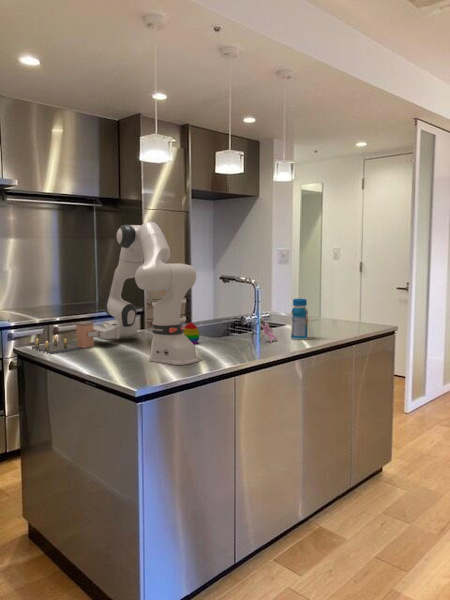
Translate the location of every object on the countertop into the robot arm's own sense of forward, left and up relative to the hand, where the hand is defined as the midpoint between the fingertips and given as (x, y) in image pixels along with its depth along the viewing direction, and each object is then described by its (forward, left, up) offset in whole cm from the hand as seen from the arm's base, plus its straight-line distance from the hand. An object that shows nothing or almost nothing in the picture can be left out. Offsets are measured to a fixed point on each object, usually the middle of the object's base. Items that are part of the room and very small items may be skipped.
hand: (83, 333), depth 222 cm
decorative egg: (-31, -39, -6) cm, 50 cm away
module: (0, -1, -6) cm, 6 cm away
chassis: (+5, +11, -6) cm, 14 cm away
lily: (-55, -68, -6) cm, 88 cm away
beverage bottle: (-63, -84, -6) cm, 105 cm away
